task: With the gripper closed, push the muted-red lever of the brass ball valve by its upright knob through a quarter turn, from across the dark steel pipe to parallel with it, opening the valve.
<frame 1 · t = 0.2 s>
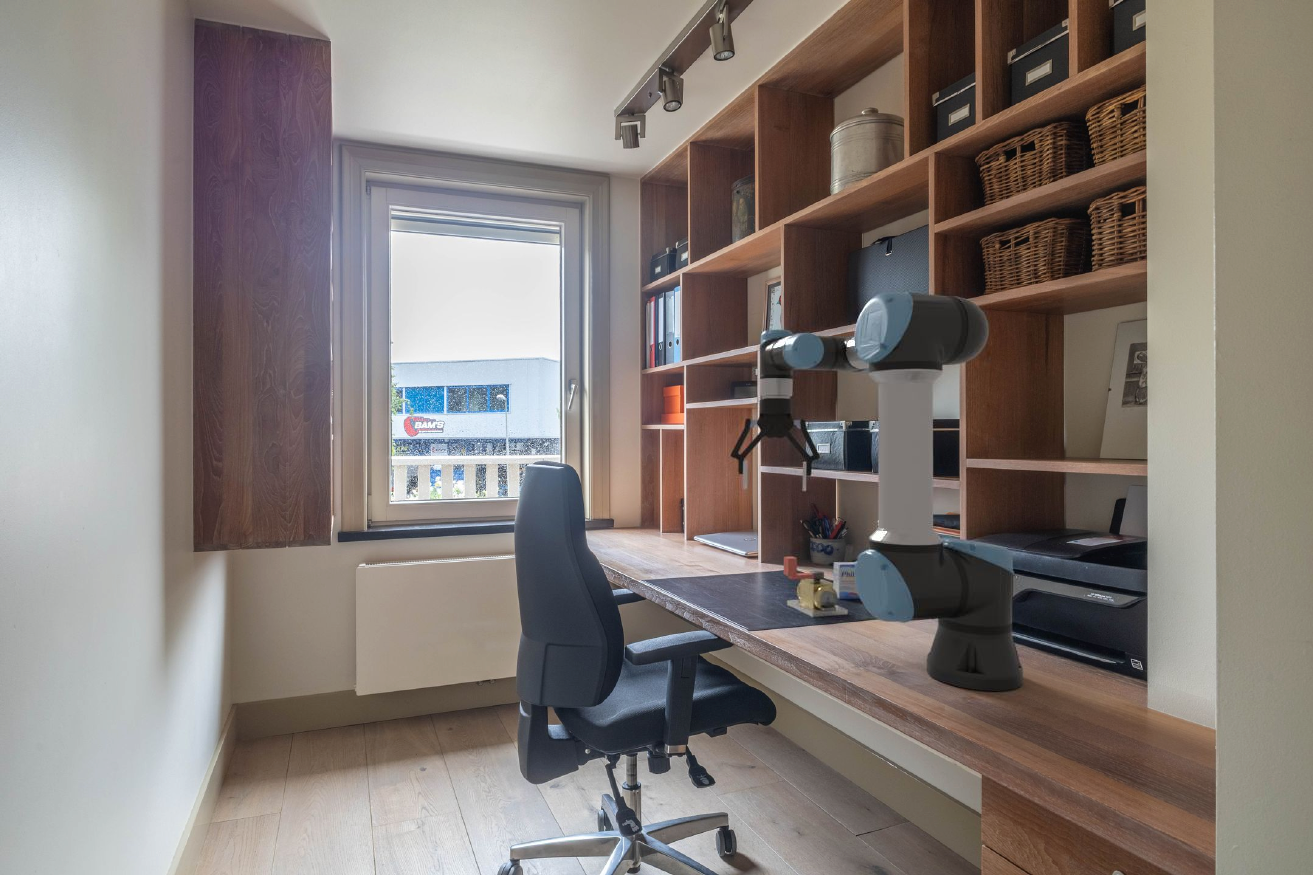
hand: (774, 489, 170), 28 cm above the table, fingers open, 13 cm apart
lever: (804, 567, 170), point 10 cm above the table, hinge at 0.0°
valve fixture: (816, 609, 171), on the table
medicine box: (850, 597, 184), on the table
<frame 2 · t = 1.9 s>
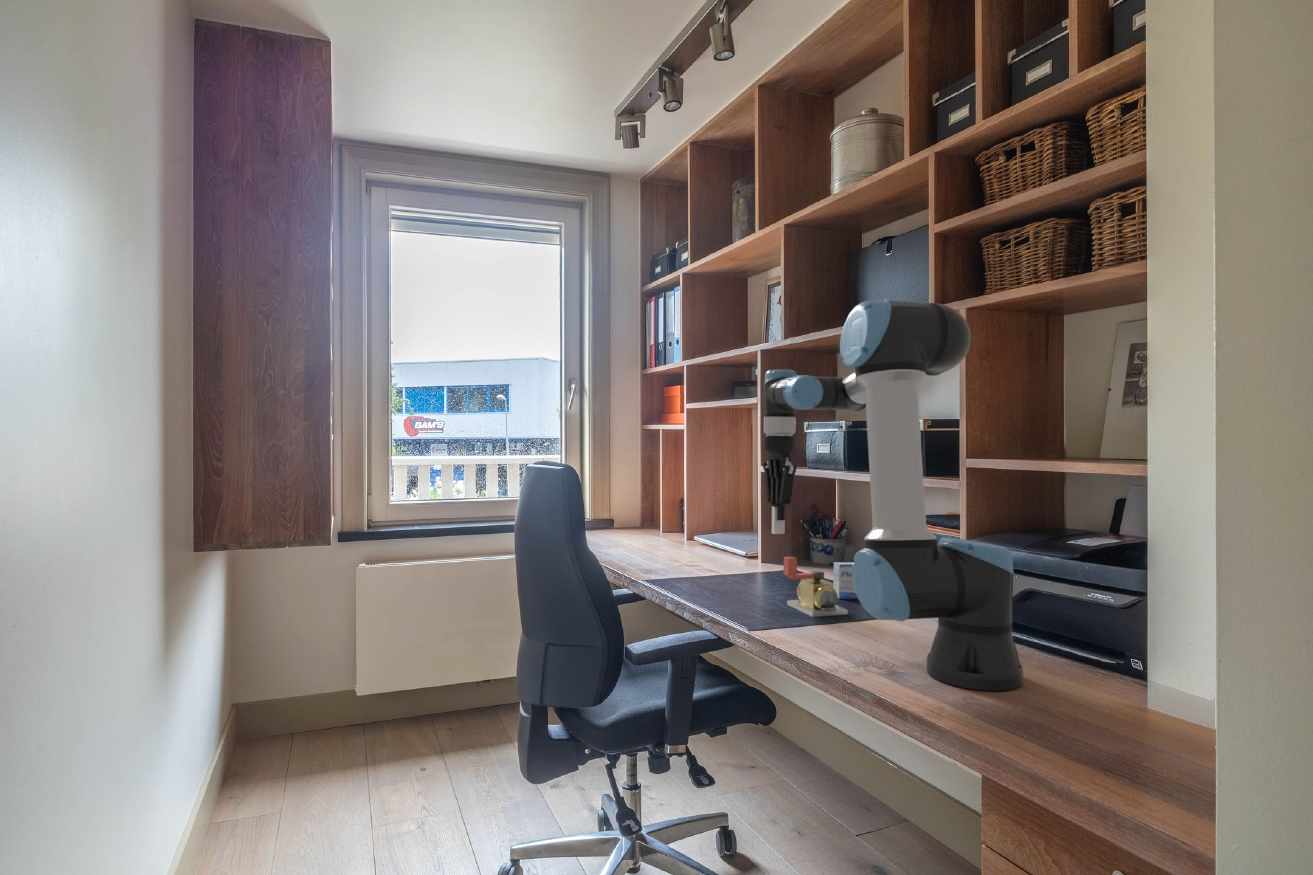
hand: (778, 533, 175), 17 cm above the table, fingers closed
nothing on the table moved.
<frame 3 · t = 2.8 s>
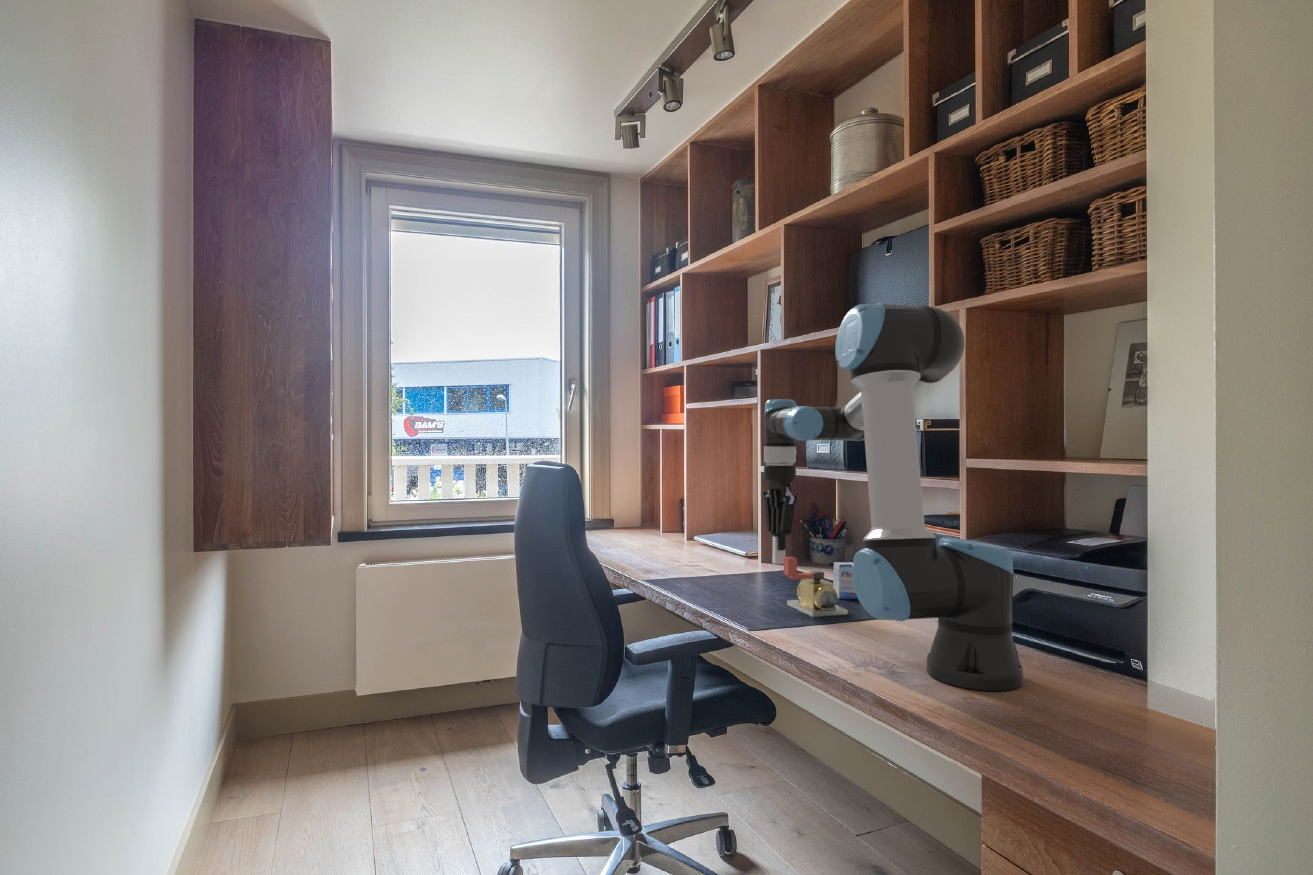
hand: (778, 563, 174), 10 cm above the table, fingers closed
nothing on the table moved.
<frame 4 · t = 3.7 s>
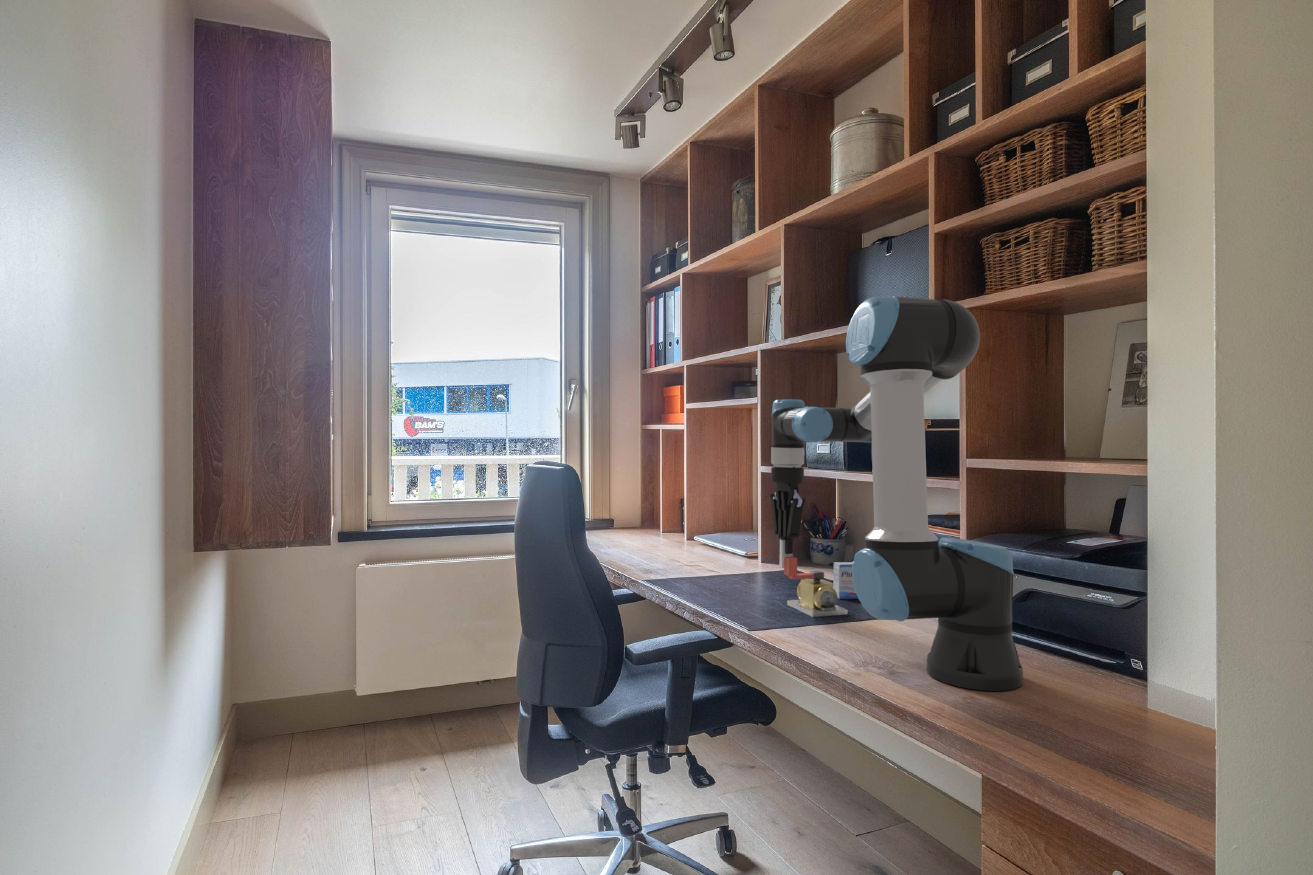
hand: (785, 566, 170), 10 cm above the table, fingers closed
lever: (804, 567, 170), point 10 cm above the table, hinge at 1.3°, touching gripper
everything else where it was.
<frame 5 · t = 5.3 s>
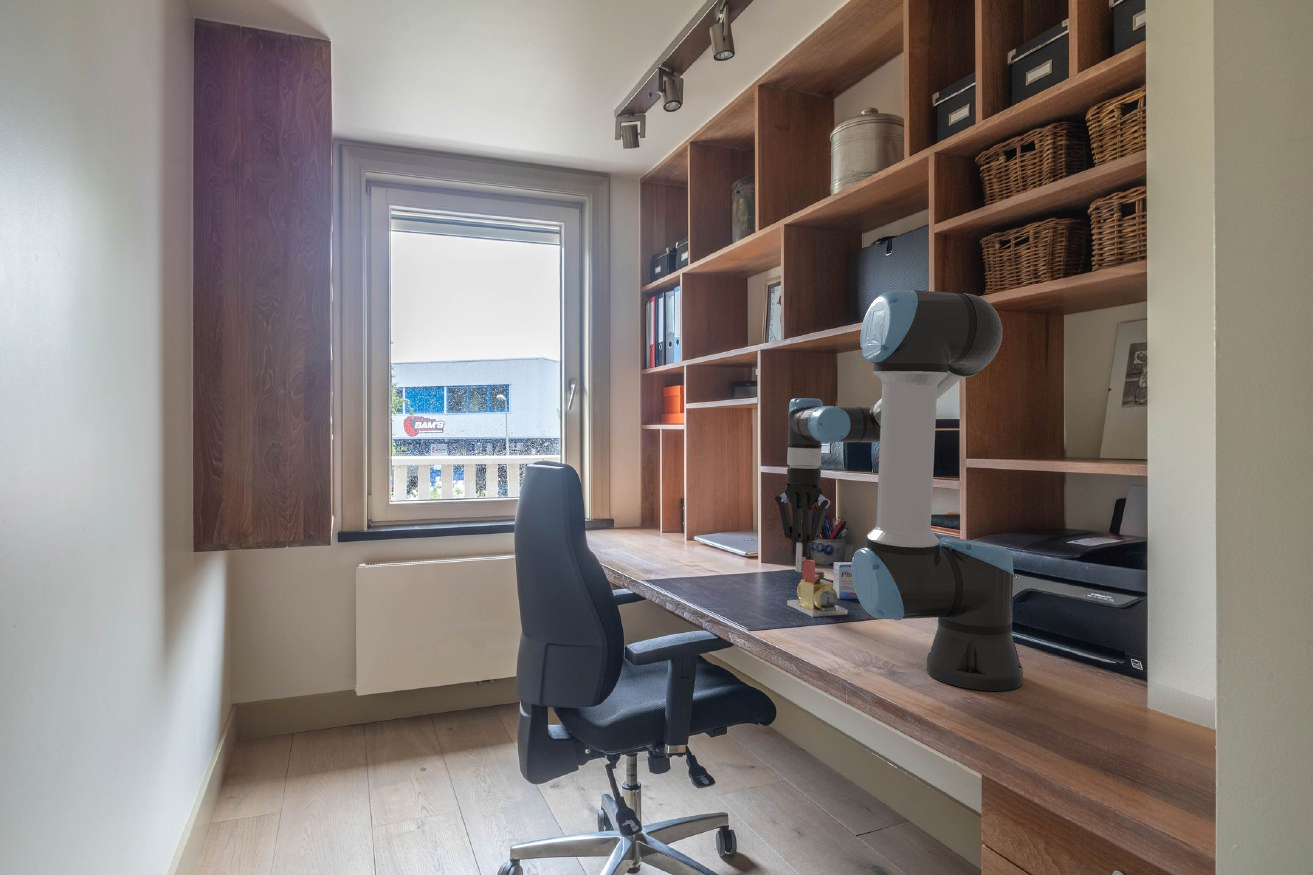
hand: (800, 570, 166), 10 cm above the table, fingers closed
lever: (813, 569, 168), point 10 cm above the table, hinge at 44.7°, touching gripper
everything else where it was.
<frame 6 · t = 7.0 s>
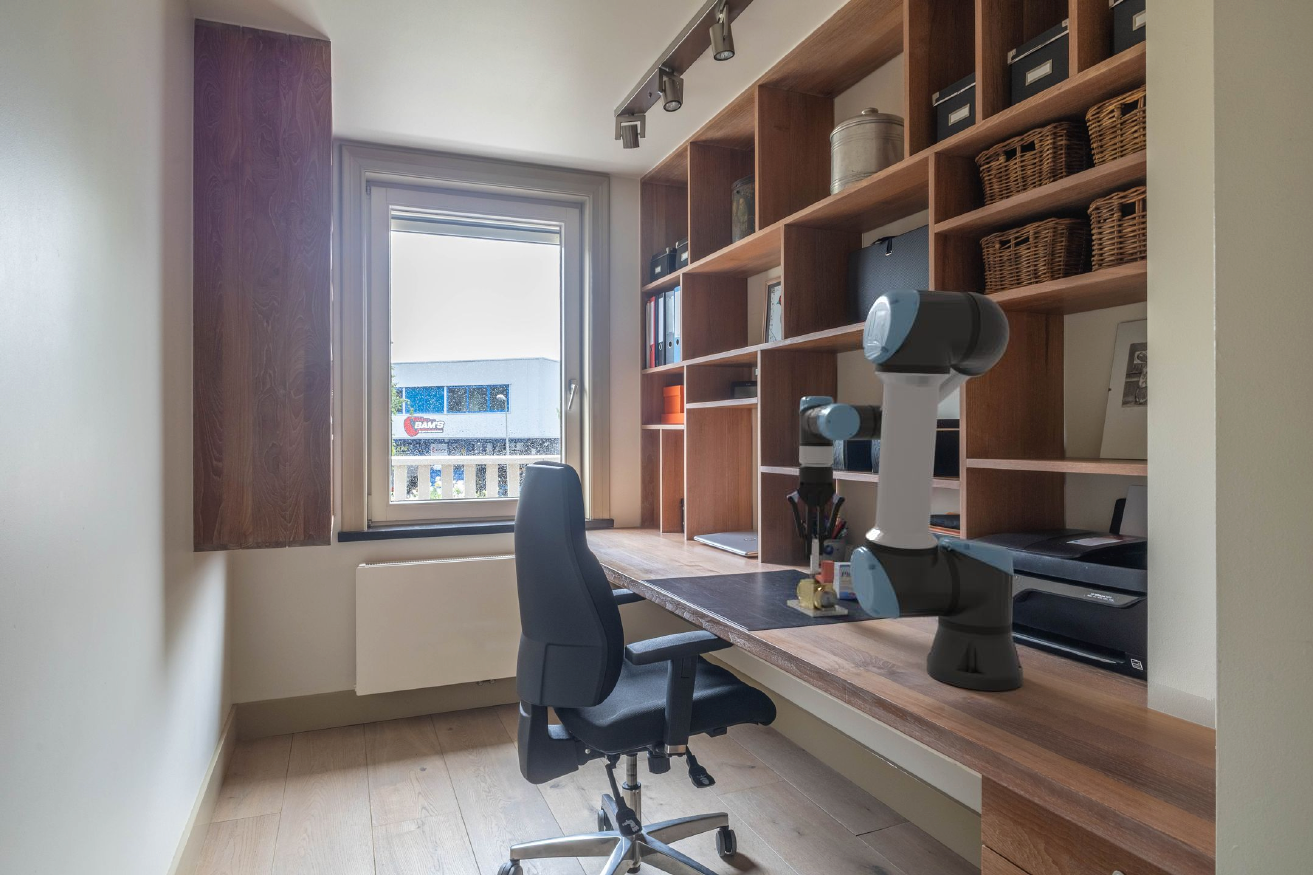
hand: (814, 569, 165), 10 cm above the table, fingers closed
lever: (821, 569, 168), point 10 cm above the table, hinge at 79.3°
everything else where it was.
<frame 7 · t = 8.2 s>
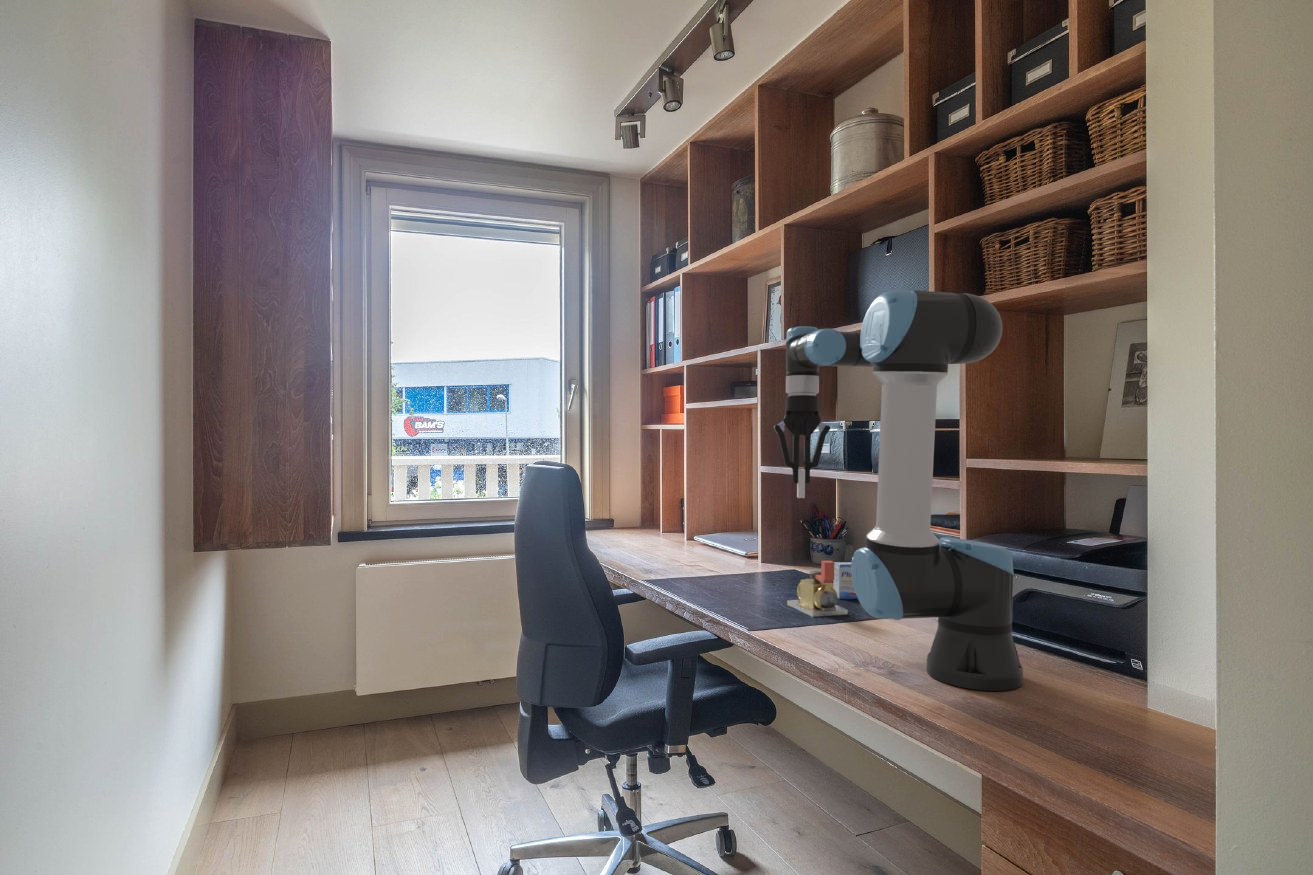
hand: (800, 497, 168), 26 cm above the table, fingers closed
nothing on the table moved.
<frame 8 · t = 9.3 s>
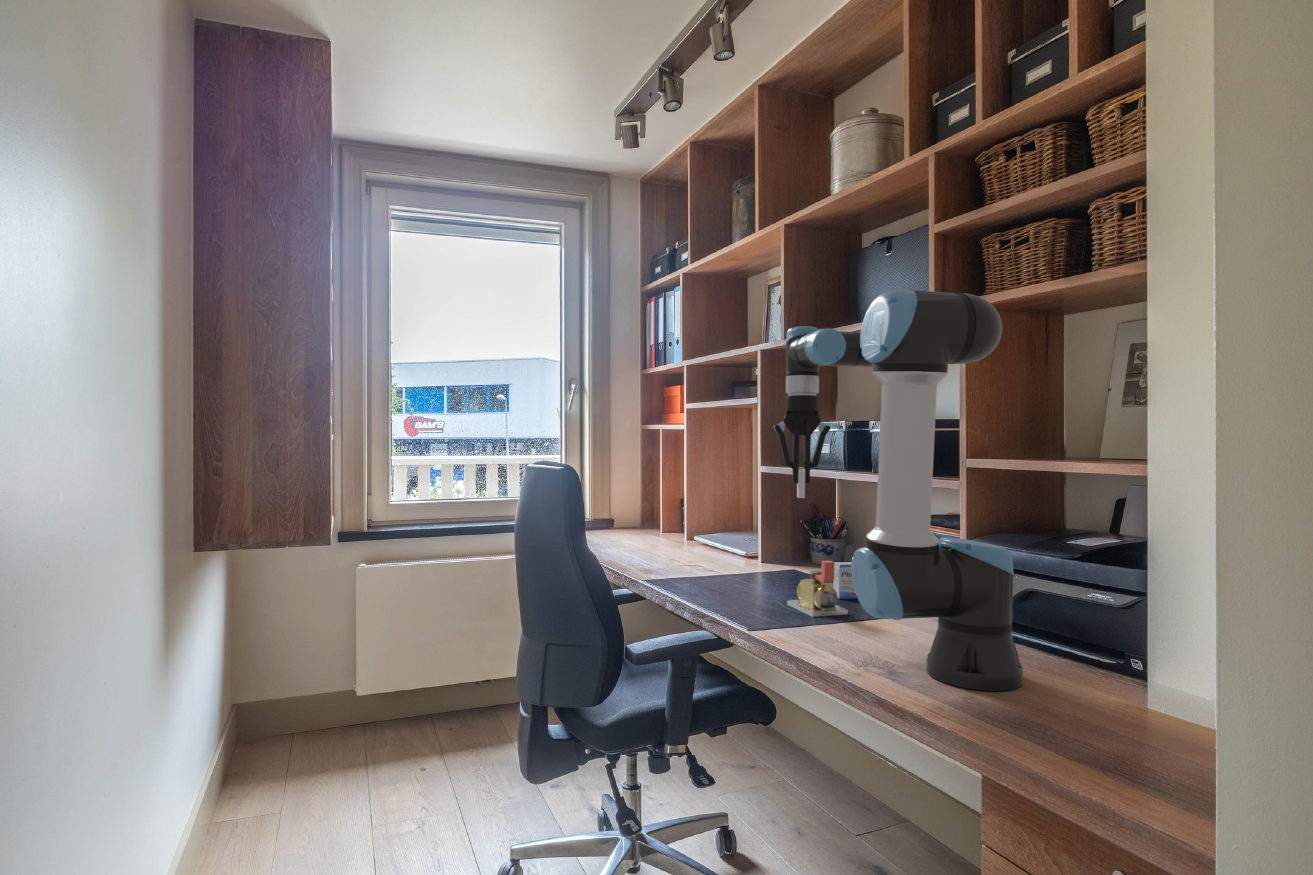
hand: (800, 497, 169), 26 cm above the table, fingers closed
nothing on the table moved.
at the end: lever at +79° (first picture: +0°); lever touching nothing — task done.
